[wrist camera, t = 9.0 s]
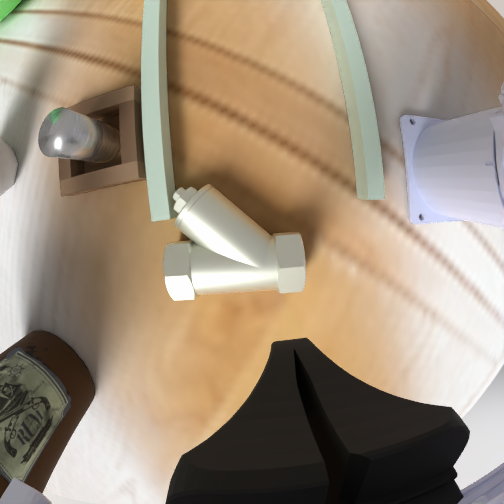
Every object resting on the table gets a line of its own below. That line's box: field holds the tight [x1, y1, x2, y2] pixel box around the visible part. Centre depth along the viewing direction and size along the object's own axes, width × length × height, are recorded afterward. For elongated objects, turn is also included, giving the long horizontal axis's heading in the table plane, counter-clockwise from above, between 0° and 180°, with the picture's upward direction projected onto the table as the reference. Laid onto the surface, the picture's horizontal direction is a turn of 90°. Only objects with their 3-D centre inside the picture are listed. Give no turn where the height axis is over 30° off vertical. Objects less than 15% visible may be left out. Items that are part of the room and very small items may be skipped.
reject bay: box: [141, 0, 385, 222], centre depth 15 cm, size 14×24×2 cm, turn 6°
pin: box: [38, 107, 120, 163], centre depth 14 cm, size 3×3×6 cm
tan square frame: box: [58, 85, 147, 196], centre depth 16 cm, size 6×6×2 cm
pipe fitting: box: [163, 184, 306, 300], centre depth 17 cm, size 8×4×7 cm
